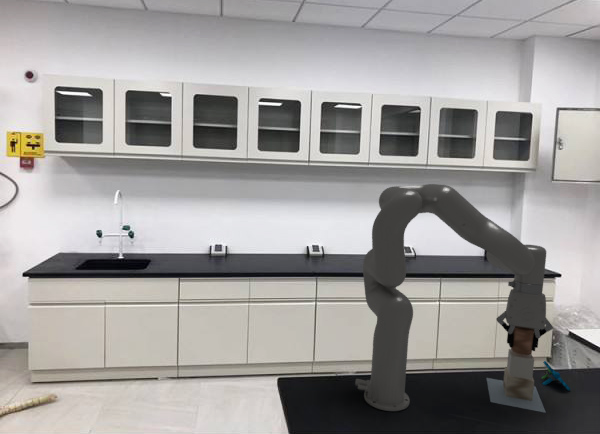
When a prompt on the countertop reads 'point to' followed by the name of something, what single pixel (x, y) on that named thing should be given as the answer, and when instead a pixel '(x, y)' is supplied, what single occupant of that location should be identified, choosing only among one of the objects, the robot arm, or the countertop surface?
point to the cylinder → (523, 340)
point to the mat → (499, 397)
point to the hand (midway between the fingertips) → (521, 347)
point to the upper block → (520, 365)
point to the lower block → (518, 387)
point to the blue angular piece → (553, 376)
